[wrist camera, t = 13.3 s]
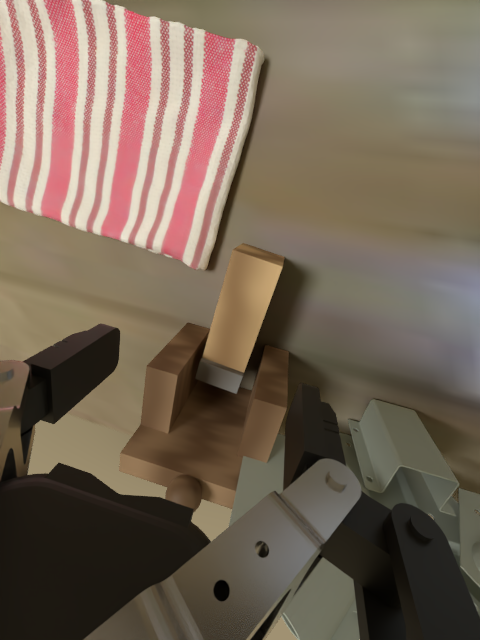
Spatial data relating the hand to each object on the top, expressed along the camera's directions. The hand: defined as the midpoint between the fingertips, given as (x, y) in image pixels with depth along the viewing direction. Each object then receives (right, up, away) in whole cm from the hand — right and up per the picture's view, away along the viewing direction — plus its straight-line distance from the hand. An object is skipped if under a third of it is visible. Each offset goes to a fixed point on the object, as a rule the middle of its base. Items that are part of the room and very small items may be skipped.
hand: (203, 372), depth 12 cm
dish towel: (-10, +18, +13) cm, 24 cm away
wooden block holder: (0, -3, +19) cm, 19 cm away
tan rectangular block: (+2, +3, +16) cm, 17 cm away
